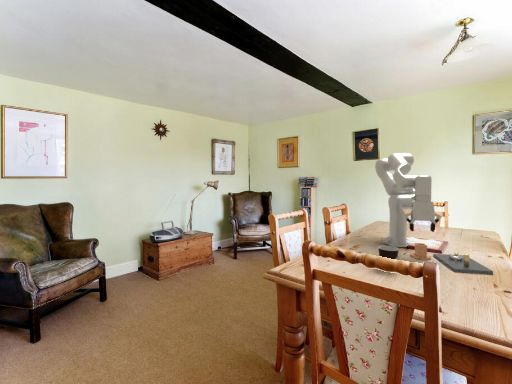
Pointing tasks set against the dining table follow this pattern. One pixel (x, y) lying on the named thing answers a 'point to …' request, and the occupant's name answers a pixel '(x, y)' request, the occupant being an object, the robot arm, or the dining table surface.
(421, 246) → the hollow square star tube
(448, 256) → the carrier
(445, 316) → the dining table surface
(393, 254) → the coffee mug
